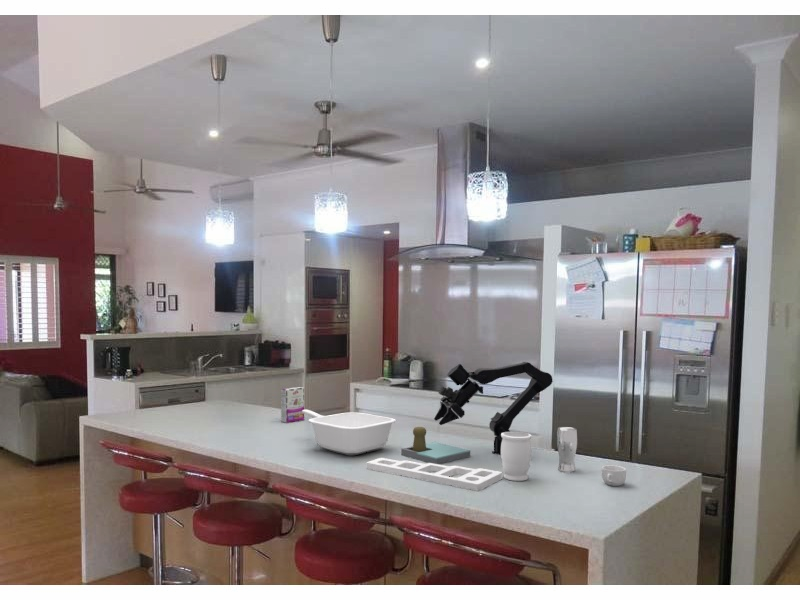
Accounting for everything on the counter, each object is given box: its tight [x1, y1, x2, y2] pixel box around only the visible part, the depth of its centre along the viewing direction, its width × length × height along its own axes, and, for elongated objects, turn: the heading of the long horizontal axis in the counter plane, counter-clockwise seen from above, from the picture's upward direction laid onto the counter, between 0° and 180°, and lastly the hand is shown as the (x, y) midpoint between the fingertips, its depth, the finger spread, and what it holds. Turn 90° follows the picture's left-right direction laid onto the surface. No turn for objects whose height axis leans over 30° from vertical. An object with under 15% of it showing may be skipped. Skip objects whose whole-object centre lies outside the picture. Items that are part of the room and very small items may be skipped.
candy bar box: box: [280, 386, 305, 424], centre depth 314 cm, size 11×5×16 cm, turn 138°
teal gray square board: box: [400, 441, 471, 465], centre depth 246 cm, size 19×19×2 cm
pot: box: [302, 409, 397, 457], centre depth 260 cm, size 28×44×13 cm, turn 48°
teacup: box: [601, 464, 627, 487], centre depth 209 cm, size 10×8×5 cm
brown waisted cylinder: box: [412, 426, 427, 452], centre depth 246 cm, size 6×6×11 cm
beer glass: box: [556, 426, 578, 473], centre depth 227 cm, size 7×7×15 cm
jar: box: [500, 431, 532, 482], centre depth 216 cm, size 11×10×15 cm
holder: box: [366, 457, 503, 492], centre depth 221 cm, size 45×18×3 cm, turn 55°
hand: (437, 422), depth 247 cm, fingers open, 9 cm apart
